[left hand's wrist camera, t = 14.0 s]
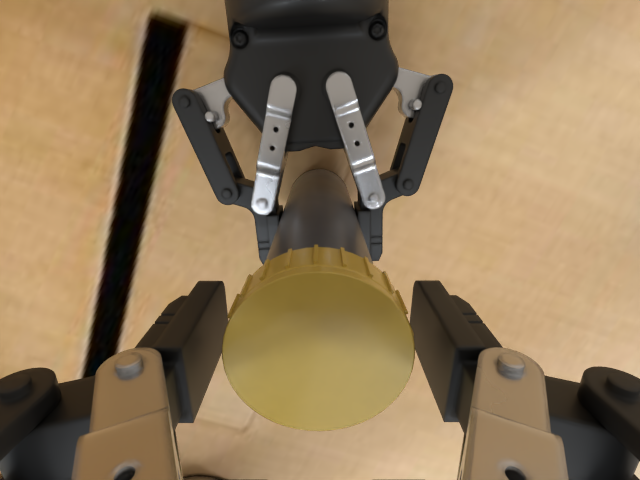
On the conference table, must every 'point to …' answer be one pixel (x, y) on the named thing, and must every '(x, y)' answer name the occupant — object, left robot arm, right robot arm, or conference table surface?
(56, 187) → the conference table surface
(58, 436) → the left robot arm
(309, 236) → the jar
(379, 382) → the lid
